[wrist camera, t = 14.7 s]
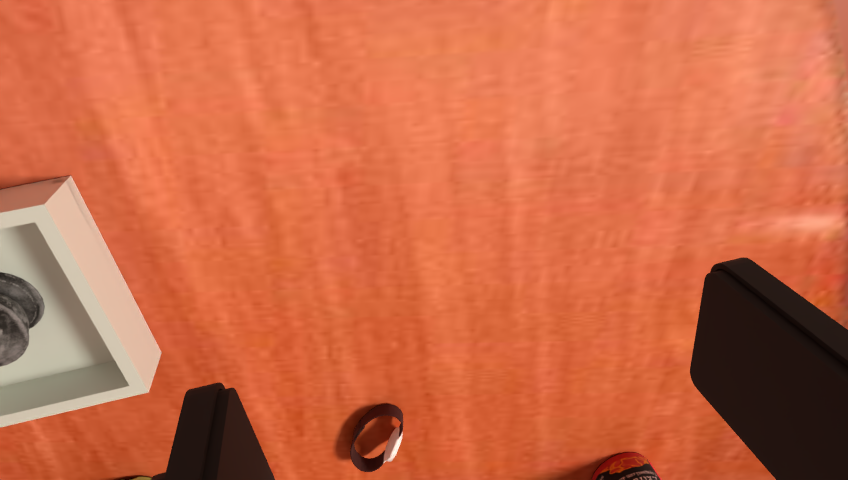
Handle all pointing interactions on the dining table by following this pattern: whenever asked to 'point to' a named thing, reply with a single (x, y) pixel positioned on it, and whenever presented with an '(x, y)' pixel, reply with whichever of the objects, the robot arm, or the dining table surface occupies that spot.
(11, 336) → the salt shaker
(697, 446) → the dining table surface
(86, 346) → the tray
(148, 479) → the plant pot
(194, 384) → the dining table surface
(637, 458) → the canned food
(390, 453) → the watch
